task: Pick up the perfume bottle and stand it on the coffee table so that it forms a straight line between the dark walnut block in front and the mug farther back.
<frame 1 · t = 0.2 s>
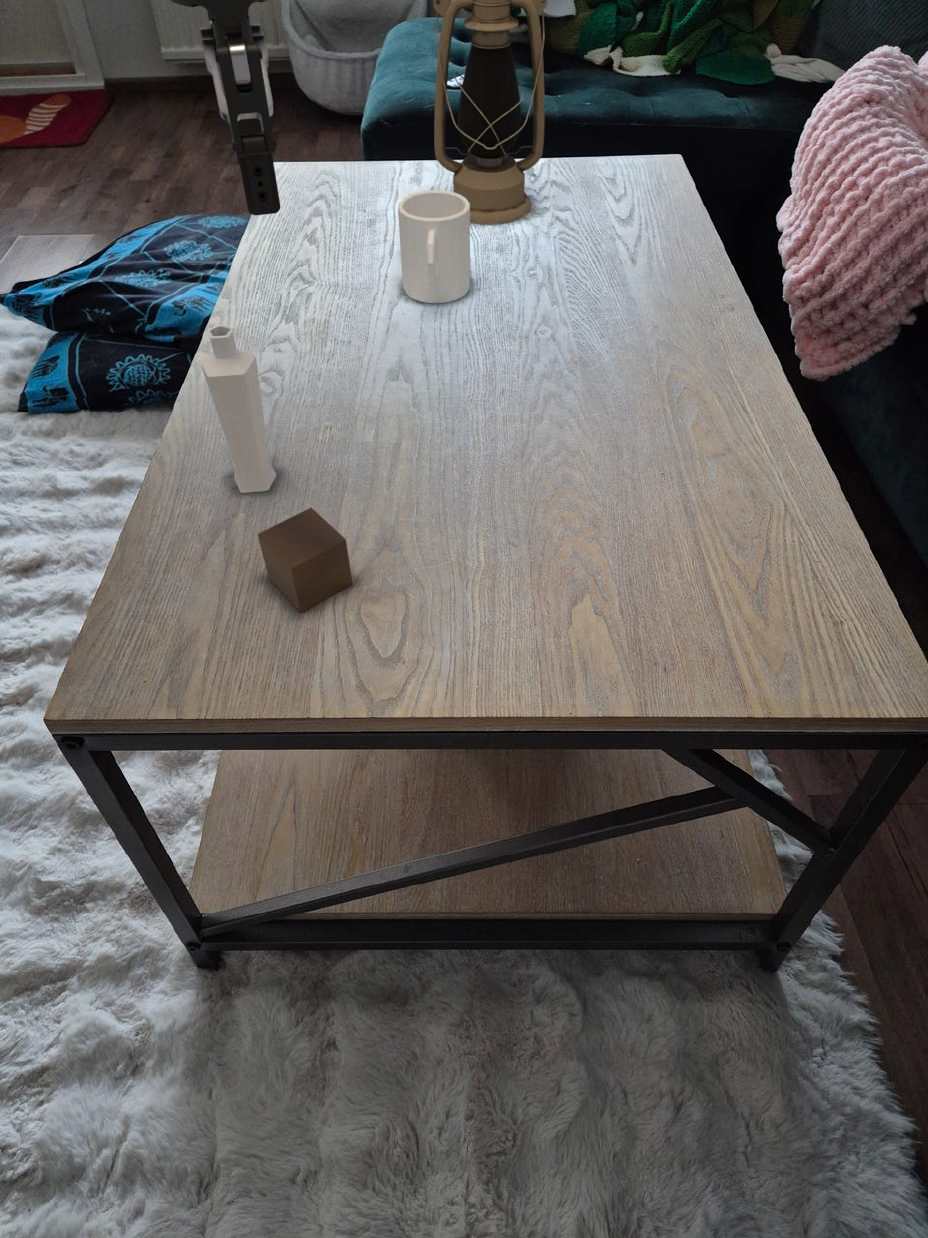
hand: (259, 187, 61), 25 cm above the table, tool pointing down, fingers open, 8 cm apart
mug: (435, 296, 102), on the table
walnut block: (310, 581, 70), on the table
perfume bottle: (257, 481, 79), on the table
lantern: (488, 207, 119), on the table
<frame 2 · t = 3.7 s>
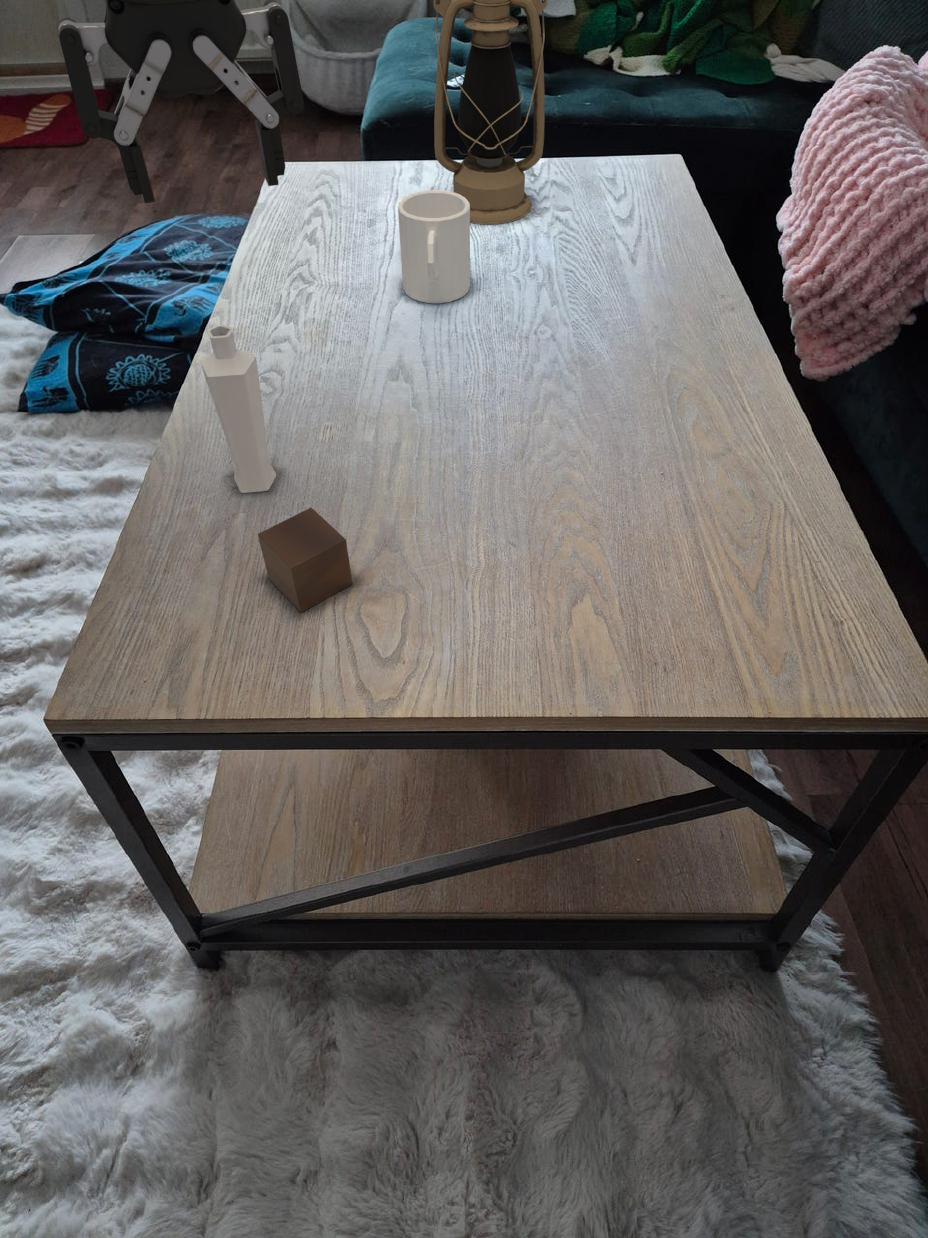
hand: (211, 189, 60), 26 cm above the table, tool pointing down, fingers open, 8 cm apart
nothing on the table moved.
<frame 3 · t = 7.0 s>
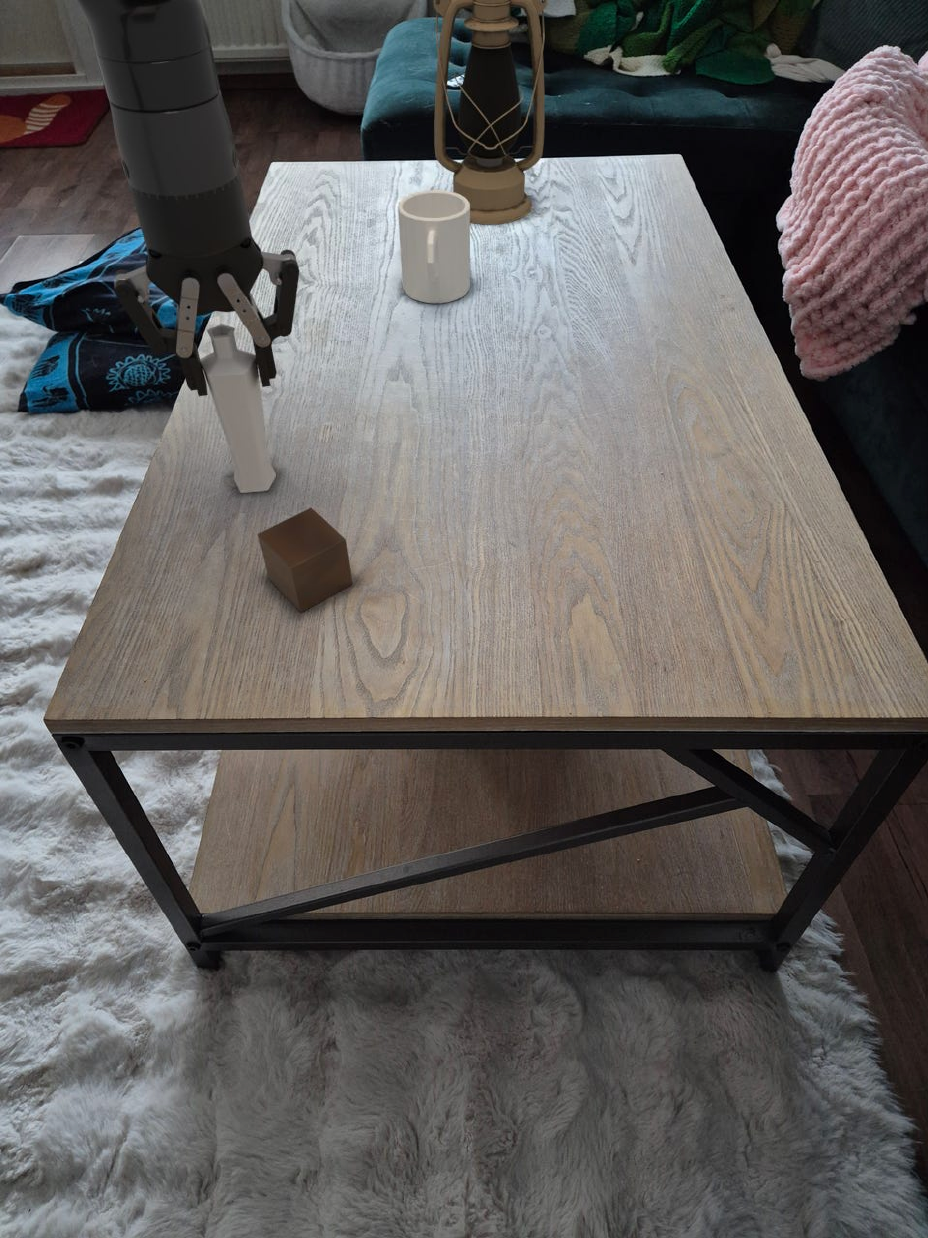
hand: (233, 385, 71), 10 cm above the table, tool pointing down, fingers closed on perfume bottle, 4 cm apart
perfume bottle: (257, 481, 79), on the table, touching gripper
everything else where it was.
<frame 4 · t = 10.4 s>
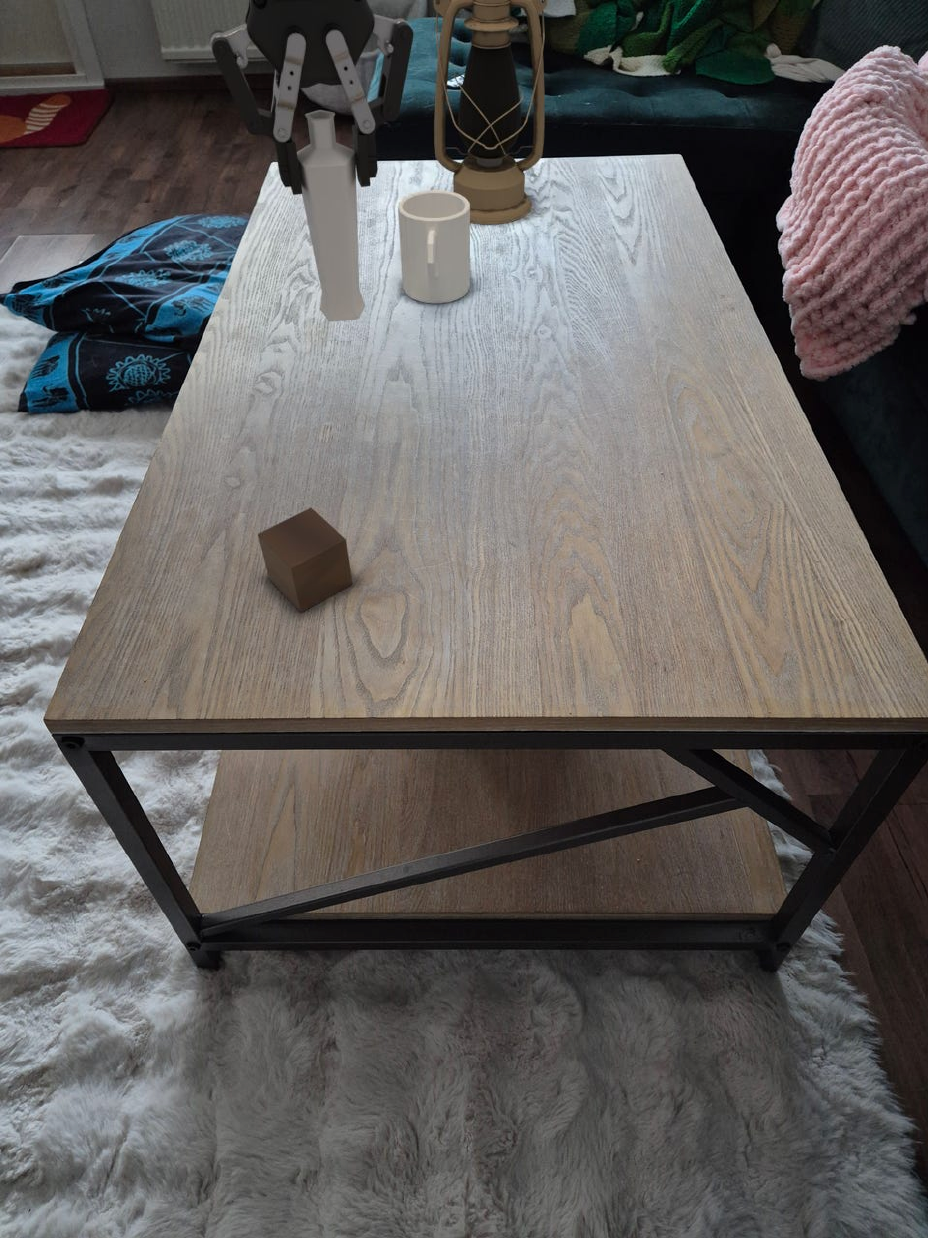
hand: (329, 185, 64), 24 cm above the table, tool pointing down, fingers closed on perfume bottle, 4 cm apart
perfume bottle: (345, 312, 73), point 13 cm above the table, touching gripper
everything else where it was.
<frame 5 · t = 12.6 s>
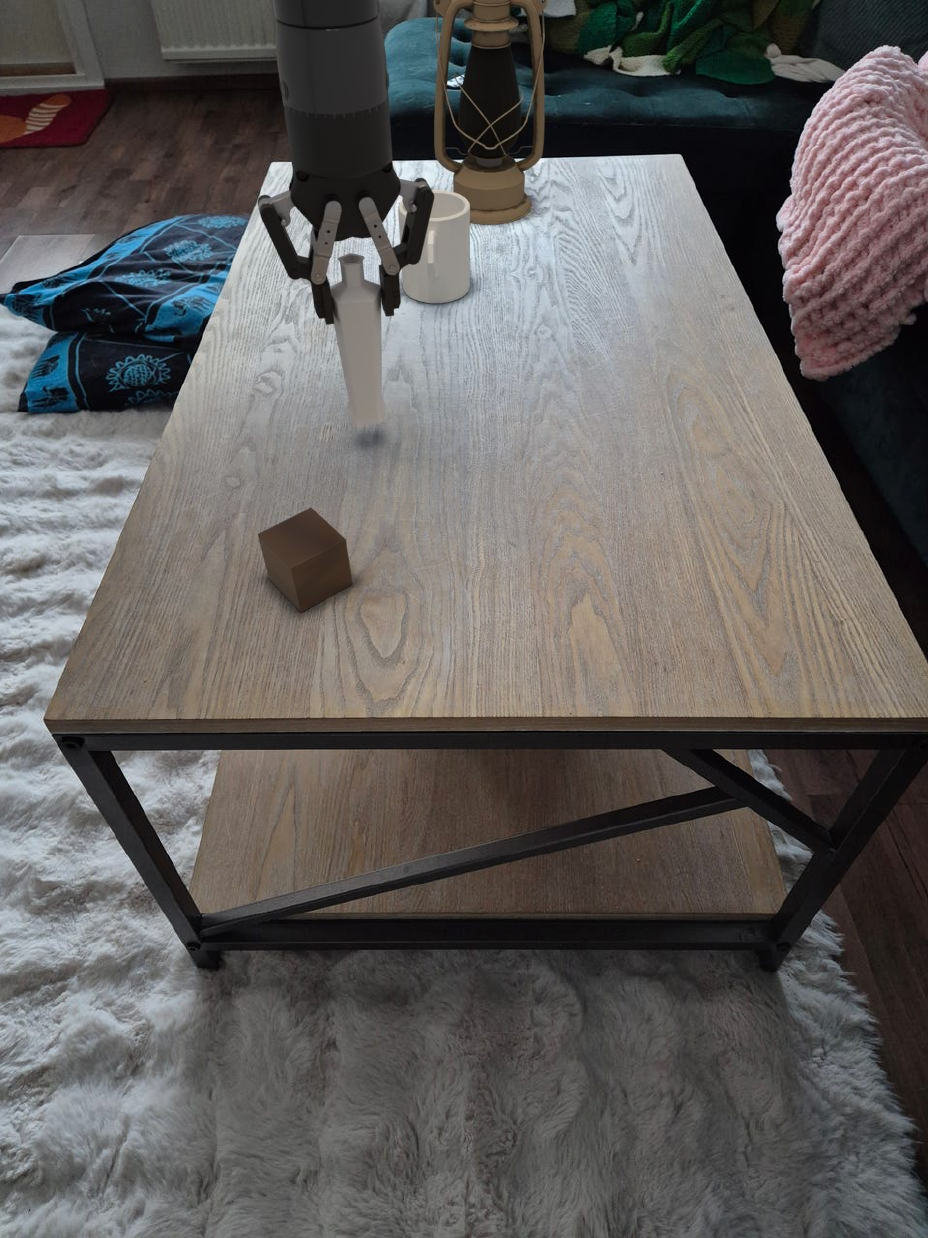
hand: (358, 315, 73), 13 cm above the table, tool pointing down, fingers closed on perfume bottle, 4 cm apart
perfume bottle: (368, 415, 81), point 3 cm above the table, touching gripper
everything else where it was.
when the fingers open (10 cm above the table, at t = 13.9 s): perfume bottle stays where it is, on the table.
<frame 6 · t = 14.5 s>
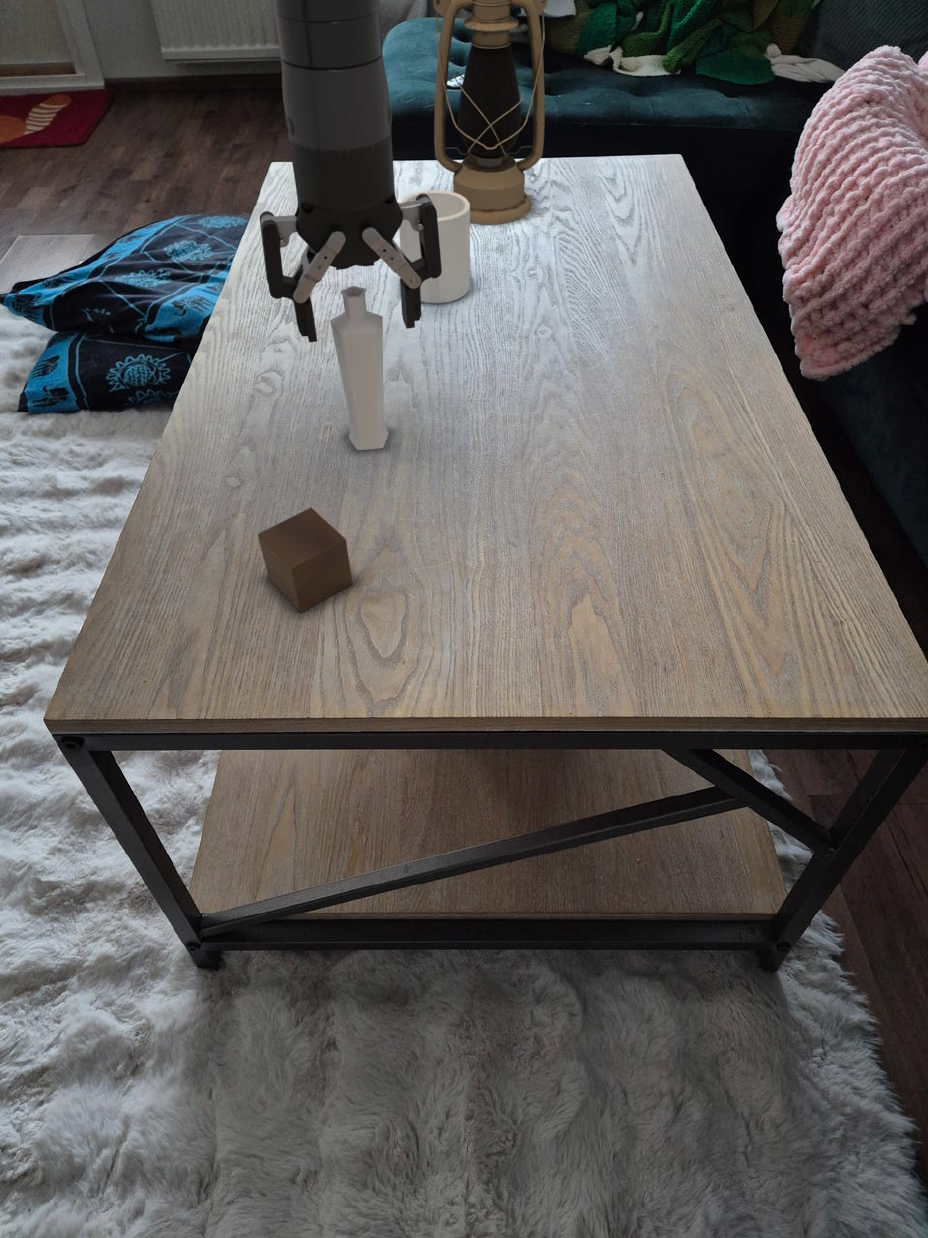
hand: (360, 330, 74), 12 cm above the table, tool pointing down, fingers open, 8 cm apart
perfume bottle: (371, 440, 83), on the table
everything else where it was.
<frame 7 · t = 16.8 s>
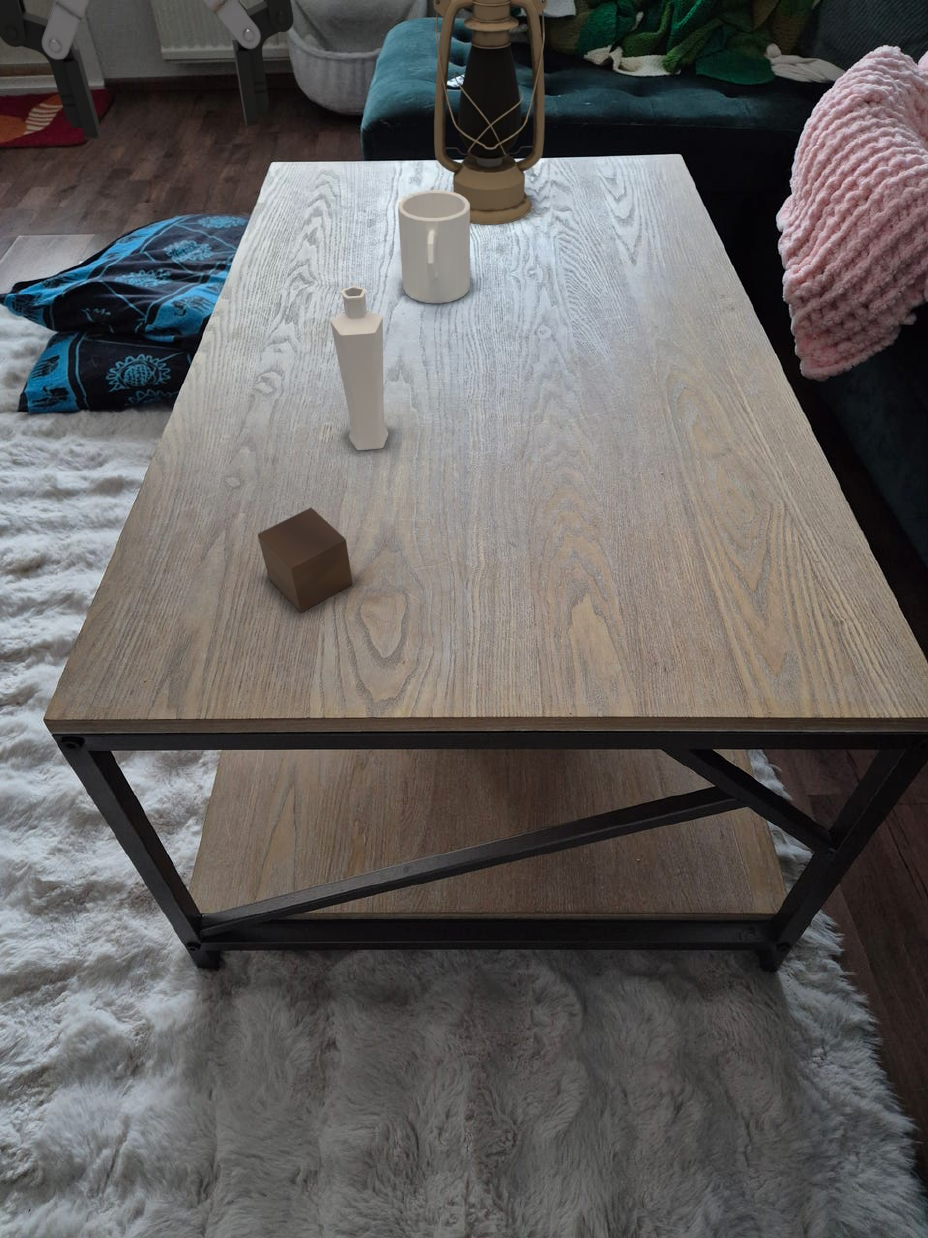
hand: (173, 128, 47), 33 cm above the table, tool pointing down, fingers open, 8 cm apart
nothing on the table moved.
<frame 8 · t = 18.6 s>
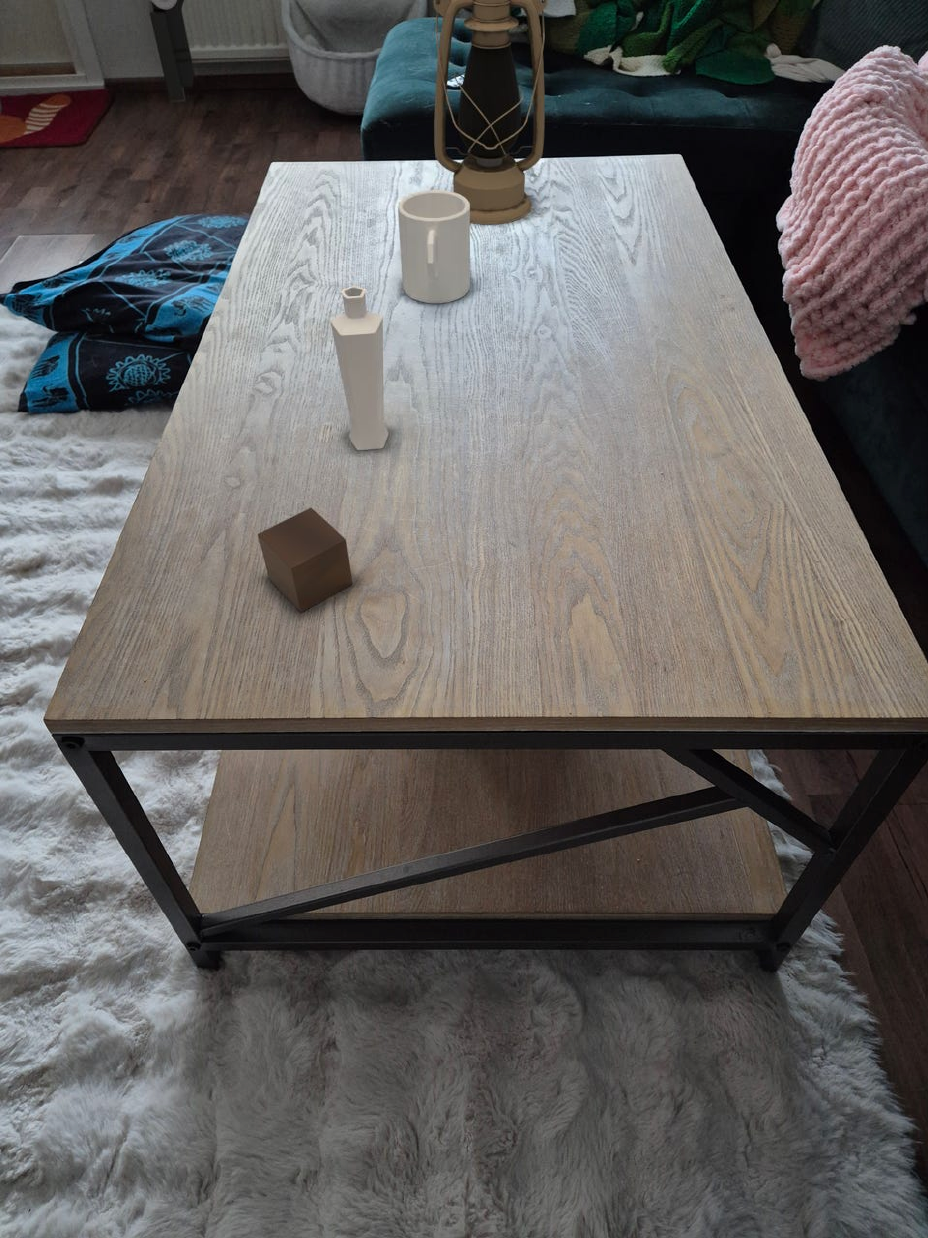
hand: (86, 105, 41), 36 cm above the table, tool pointing down, fingers open, 8 cm apart
nothing on the table moved.
at the end: perfume bottle 0.4 cm from the target spot on the table beside the mug, on the table; perfume bottle tilted 0°; mug moved 0.2 cm from its start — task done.
